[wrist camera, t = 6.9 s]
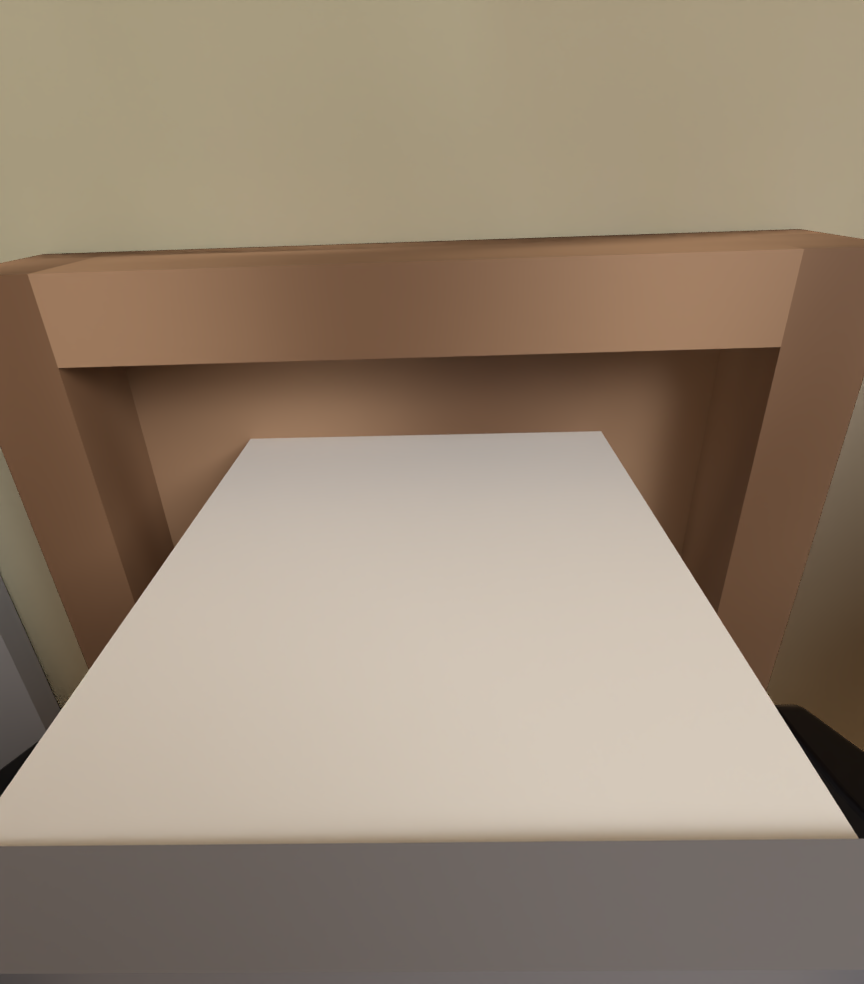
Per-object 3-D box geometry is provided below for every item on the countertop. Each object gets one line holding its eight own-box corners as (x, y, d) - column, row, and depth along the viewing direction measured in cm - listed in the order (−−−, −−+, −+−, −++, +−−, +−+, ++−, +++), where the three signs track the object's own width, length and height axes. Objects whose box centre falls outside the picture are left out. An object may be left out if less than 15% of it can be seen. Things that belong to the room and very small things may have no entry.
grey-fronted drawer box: (608, 424, 9) (981, 969, 3) (568, 767, 12) (694, 1339, 6) (242, 432, 9) (-163, 976, 3) (305, 770, 12) (179, 1337, 6)
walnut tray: (799, 228, 8) (904, 246, 6) (664, 814, 13) (698, 910, 12) (43, 254, 8) (-67, 277, 6) (218, 819, 14) (186, 915, 12)
